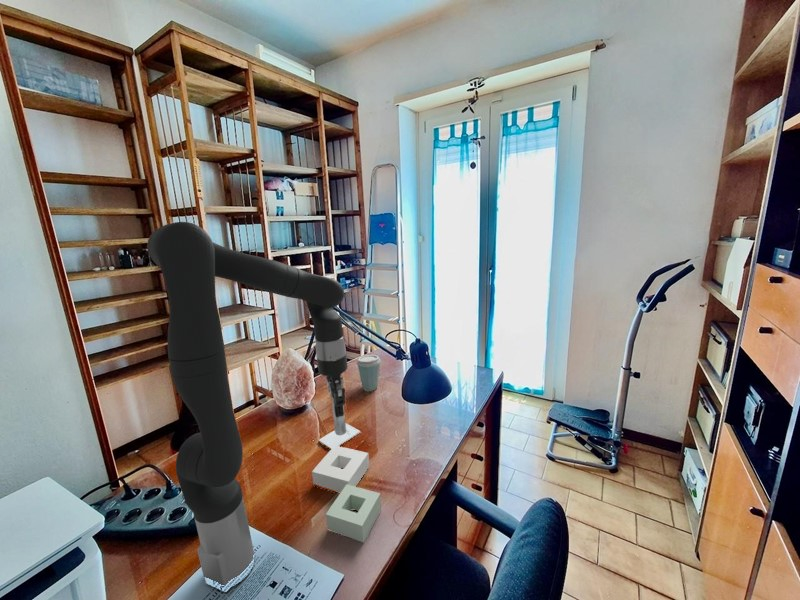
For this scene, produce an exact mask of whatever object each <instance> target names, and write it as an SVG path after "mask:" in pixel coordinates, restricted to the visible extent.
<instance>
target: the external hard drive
mask: <svg viewBox="0 0 800 600" xmlns="http://www.w3.org/2000/svg"><path fill="white" fill-rule="evenodd" d="M345 424H346V433H345V434H343V435H336V434H335V429H334V430H333V431H330V432H329V433H327V434H326V435H324V436H323V437H321V438H319V439H317V442H318V441H320V442H321V443H323V444H324V445H326V446H327V447H329V448H330V449H332V448H333V447H334V445H336V446H340V445H341V444H343V443H344V442H346V441H348V440H350V439H351V438H353V437H354V436H356V435H357V434H359V433H361V430H359V429H357V428H356V427H354V426H352V425H350V424H349V423H345ZM359 435H360V434H359ZM356 437H357V436H356ZM353 439H354V438H353ZM350 441H351V440H350Z"/></svg>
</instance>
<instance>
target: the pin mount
mask: <svg viewBox="0 0 800 600" xmlns="http://www.w3.org/2000/svg"><path fill="white" fill-rule="evenodd" d="M381 508H382V498H381V493H380V492H376V491H373V490H369V489H366V488H362V487H358V486H357V487H355V486H351V485H348V484H346V486H345V487H344V489H343V490H342V492H341V493H340V494H339V493H338V496H337V497H336V499H335V500H334V502H333V503H332V504H331V506H330V507H329V509H328V510H327V512H326V513H325V518H326V528H327V530H328V529H330V530H332V531H335V532H337V533H339V534H342V535H345V536H348V537H351V538H353V539H356V540H358V541H357V542H359V541H361V542H360V543H362V542H364V541H365V542H366V540H367V538H368V536H369V534H370V532H371V531H372V529H373V527H374V525H373V524H375V523H376V521H377V519H378V517H379V515H380V513H381V511H382V510H381ZM351 509H355V510H358V512H356V511H353V510H352V511H351ZM380 510H381V511H380ZM379 512H380V513H379ZM378 514H379V515H378ZM377 516H378V517H377ZM376 518H377V519H376ZM375 520H376V521H375ZM374 522H375V523H374ZM372 526H373V527H372ZM371 528H372V529H371ZM370 530H371V531H370ZM369 531H370V532H369ZM368 533H369V534H368ZM339 534H338V535H339ZM342 535H341V536H342ZM367 535H368V536H367ZM366 537H367V538H366ZM353 539H352V540H353ZM365 539H366V540H365ZM356 540H355V541H356ZM365 542H364V543H365Z"/></svg>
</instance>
